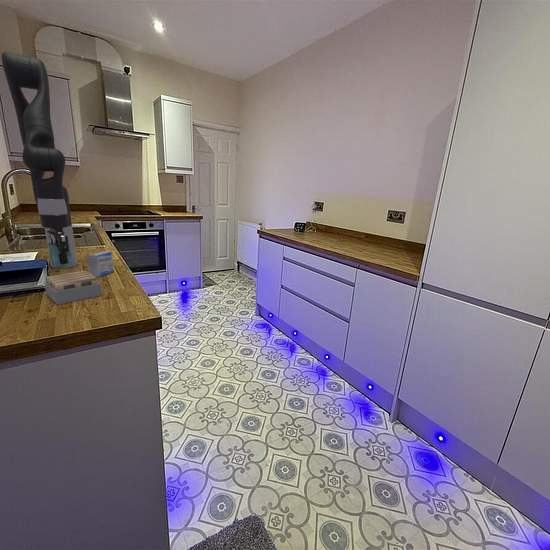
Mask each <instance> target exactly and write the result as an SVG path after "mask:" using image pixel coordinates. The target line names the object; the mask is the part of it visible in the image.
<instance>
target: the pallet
mask: <svg viewBox="0 0 550 550" xmlns="http://www.w3.org/2000/svg"><path fill="white" fill-rule="evenodd" d="M45 280H46V282H48V283H49V284H50V285H51V286H52V287H53V288H54V289H56V290H57V291H61V290H64V287H63V286H66V285H72V286H73V287H75V288H78V287H81V283H83V282H88V283H90V284H91V285H94V284H97V282H98V277H96V276H94V275H92V274H90V272H88V271H86V270H82V271H75V272H69V273H62V274H56V275H50V276H49V275H48V276H45Z"/></svg>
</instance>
